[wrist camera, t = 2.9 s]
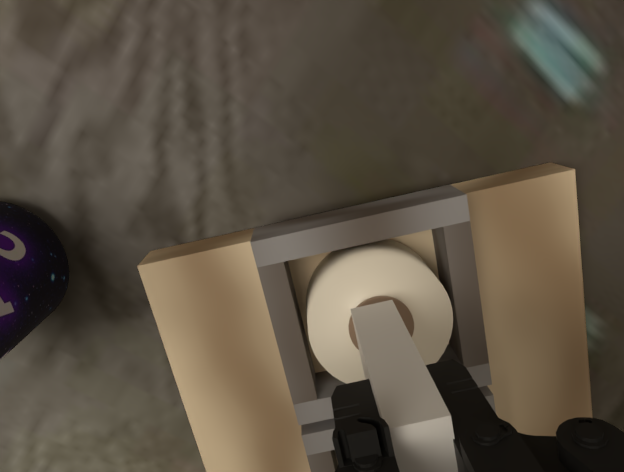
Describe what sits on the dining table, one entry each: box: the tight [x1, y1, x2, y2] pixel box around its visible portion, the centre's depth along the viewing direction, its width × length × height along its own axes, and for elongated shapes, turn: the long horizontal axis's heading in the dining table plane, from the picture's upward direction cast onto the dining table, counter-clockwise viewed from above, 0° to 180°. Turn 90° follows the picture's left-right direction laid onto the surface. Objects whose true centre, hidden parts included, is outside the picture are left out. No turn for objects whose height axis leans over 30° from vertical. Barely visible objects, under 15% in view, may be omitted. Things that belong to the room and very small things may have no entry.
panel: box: [137, 162, 592, 472], centre depth 24 cm, size 18×25×4 cm
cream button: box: [306, 239, 453, 384], centre depth 20 cm, size 5×5×3 cm
